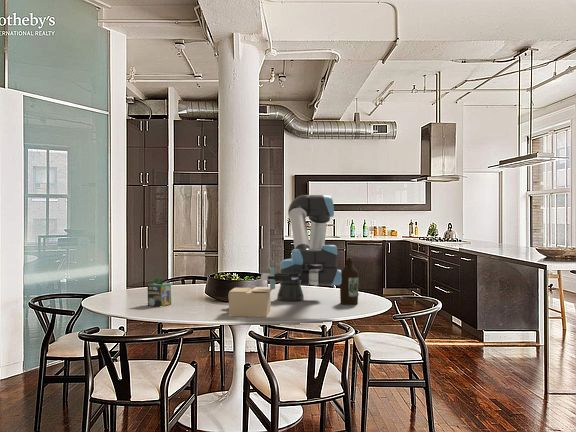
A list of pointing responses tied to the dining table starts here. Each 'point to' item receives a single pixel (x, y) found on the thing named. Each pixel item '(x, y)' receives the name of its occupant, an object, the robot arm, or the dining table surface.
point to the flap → (266, 289)
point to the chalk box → (159, 293)
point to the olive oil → (349, 284)
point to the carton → (248, 303)
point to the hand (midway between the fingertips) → (262, 276)
